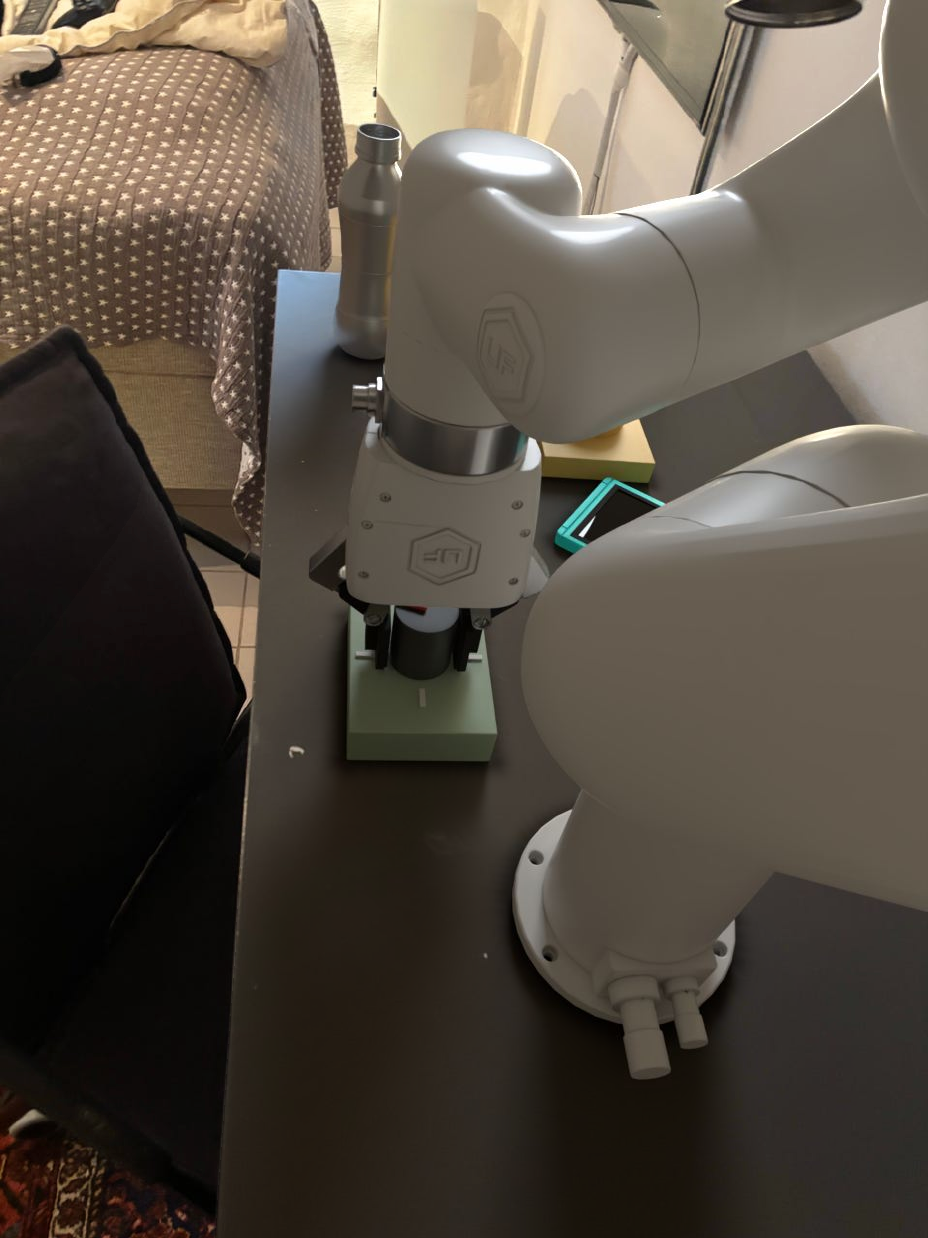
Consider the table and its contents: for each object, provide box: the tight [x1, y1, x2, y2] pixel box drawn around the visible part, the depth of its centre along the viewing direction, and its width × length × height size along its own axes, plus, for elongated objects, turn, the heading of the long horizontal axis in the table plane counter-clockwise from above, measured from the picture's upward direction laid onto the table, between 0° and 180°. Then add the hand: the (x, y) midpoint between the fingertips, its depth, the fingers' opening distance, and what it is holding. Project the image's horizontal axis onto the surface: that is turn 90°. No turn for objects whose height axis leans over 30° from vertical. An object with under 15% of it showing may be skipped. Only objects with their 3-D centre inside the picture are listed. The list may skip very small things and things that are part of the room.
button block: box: [536, 419, 656, 484], centre depth 80 cm, size 13×10×4 cm
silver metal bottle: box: [332, 122, 402, 360], centre depth 79 cm, size 6×7×20 cm
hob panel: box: [346, 604, 498, 762], centre depth 58 cm, size 12×9×3 cm
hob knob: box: [389, 605, 460, 680], centre depth 55 cm, size 4×4×5 cm
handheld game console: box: [554, 477, 666, 555], centre depth 71 cm, size 10×16×1 cm, turn 58°
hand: (419, 651), depth 56 cm, fingers open, 4 cm apart
